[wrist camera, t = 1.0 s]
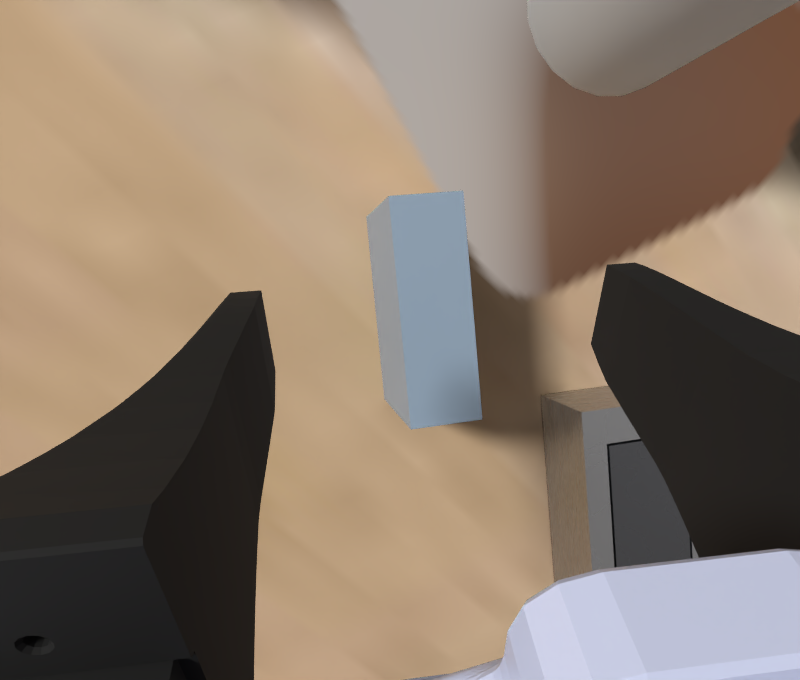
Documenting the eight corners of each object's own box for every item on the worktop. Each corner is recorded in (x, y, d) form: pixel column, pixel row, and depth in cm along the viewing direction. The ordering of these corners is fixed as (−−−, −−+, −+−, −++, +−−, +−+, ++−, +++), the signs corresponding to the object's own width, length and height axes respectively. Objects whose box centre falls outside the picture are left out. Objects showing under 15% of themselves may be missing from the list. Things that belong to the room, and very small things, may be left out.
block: (440, 391, 27) (482, 419, 22) (384, 398, 27) (410, 429, 21) (424, 212, 27) (463, 190, 21) (366, 217, 26) (388, 196, 20)
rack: (841, 595, 32) (922, 639, 28) (559, 655, 29) (603, 715, 25) (835, 355, 31) (919, 365, 27) (540, 395, 28) (583, 413, 24)
